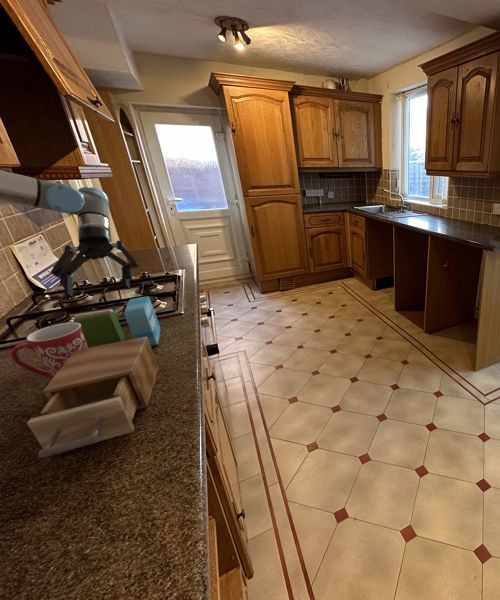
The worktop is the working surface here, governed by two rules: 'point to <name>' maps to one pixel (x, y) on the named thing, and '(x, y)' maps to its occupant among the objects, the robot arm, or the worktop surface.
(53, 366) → the mug
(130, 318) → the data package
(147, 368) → the cabinet
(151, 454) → the worktop surface
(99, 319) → the green block
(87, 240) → the robot arm
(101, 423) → the drawer
